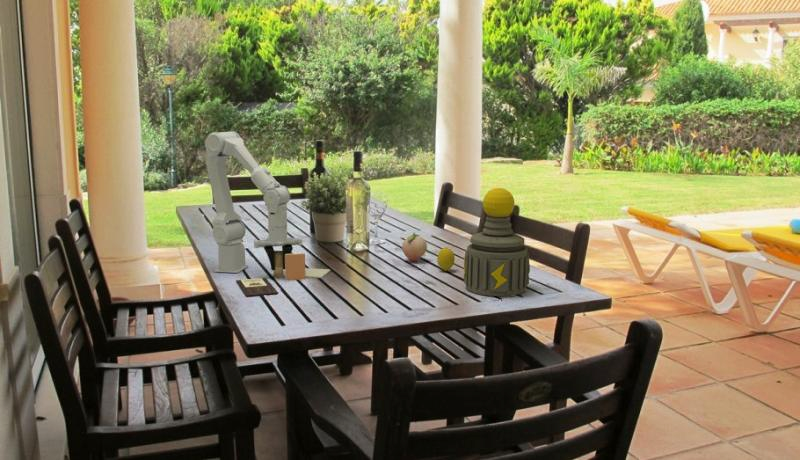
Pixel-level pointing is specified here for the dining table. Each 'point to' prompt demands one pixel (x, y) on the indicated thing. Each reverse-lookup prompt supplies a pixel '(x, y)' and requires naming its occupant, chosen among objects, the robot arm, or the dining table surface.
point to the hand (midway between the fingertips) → (278, 269)
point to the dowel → (278, 264)
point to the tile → (295, 266)
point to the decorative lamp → (497, 251)
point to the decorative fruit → (414, 247)
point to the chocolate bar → (256, 287)
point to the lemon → (445, 258)
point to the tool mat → (316, 272)
